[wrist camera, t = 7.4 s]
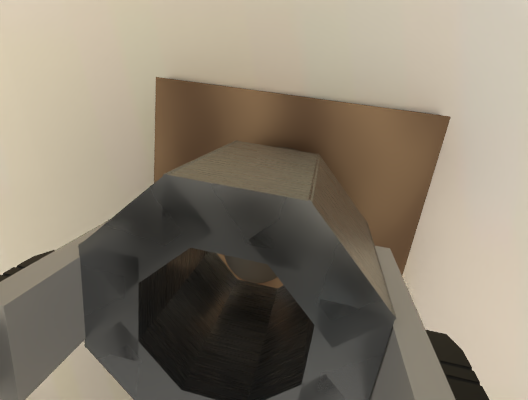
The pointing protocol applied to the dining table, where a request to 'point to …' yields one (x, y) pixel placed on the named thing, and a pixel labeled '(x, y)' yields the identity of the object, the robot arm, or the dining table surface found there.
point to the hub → (238, 284)
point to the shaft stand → (310, 151)
